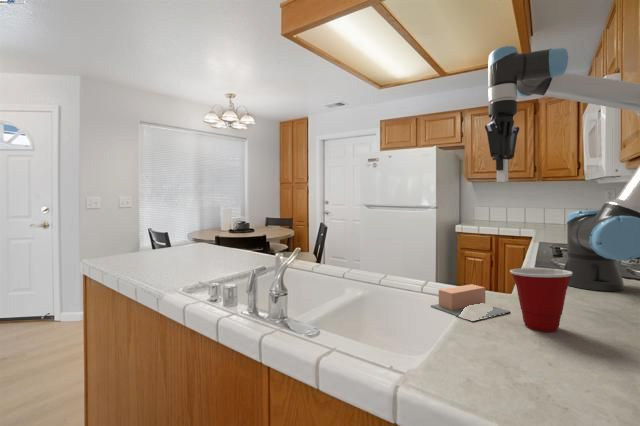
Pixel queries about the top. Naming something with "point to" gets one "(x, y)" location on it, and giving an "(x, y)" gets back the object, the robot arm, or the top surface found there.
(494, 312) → the slate mat
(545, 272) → the plastic cup
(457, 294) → the terracotta block
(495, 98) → the robot arm
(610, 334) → the top surface
